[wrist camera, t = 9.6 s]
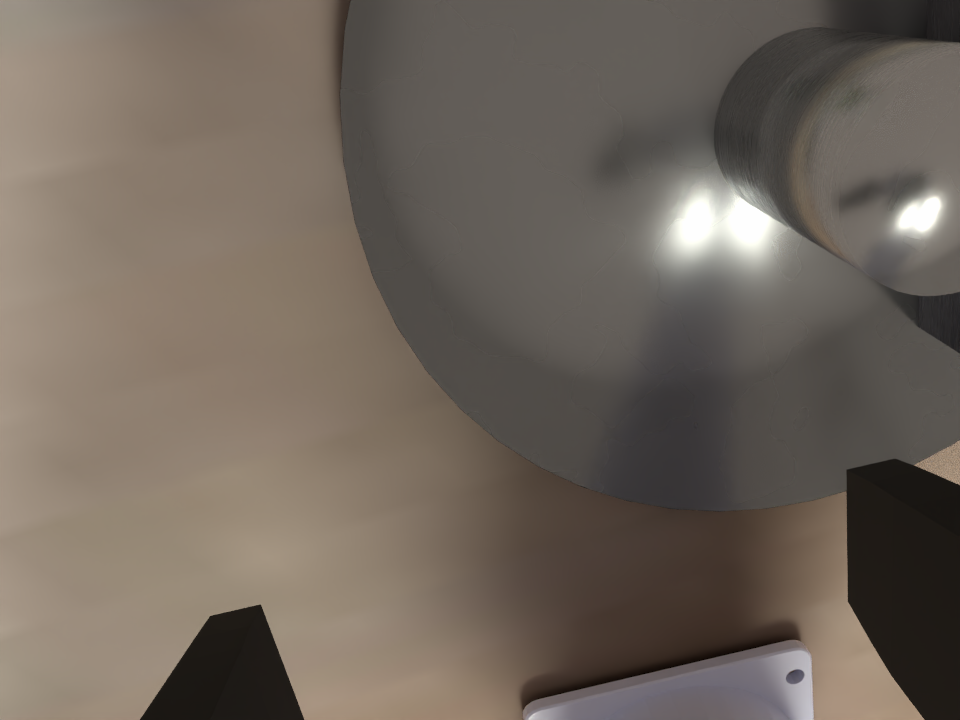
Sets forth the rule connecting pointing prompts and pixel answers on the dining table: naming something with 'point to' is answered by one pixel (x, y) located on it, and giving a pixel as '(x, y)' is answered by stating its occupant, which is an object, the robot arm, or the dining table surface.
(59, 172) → the dining table surface
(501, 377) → the rosette joint
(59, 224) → the dining table surface
